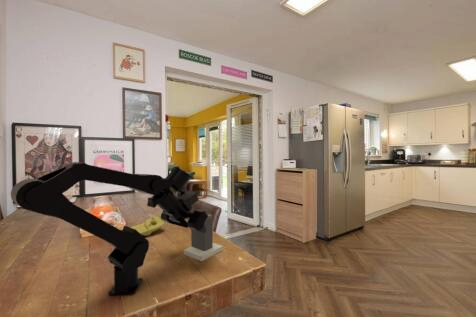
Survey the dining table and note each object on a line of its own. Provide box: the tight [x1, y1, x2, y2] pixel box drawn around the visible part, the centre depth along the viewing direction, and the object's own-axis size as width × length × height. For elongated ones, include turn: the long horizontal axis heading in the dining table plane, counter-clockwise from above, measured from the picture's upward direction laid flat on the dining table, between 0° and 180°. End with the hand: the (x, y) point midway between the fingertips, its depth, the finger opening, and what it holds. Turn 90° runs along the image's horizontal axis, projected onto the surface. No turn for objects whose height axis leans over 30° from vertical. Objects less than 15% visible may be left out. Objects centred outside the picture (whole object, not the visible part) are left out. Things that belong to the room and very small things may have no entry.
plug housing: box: [190, 213, 214, 251], centre depth 80 cm, size 4×7×12 cm, turn 53°
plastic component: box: [115, 213, 166, 236], centre depth 98 cm, size 20×7×10 cm
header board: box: [183, 242, 224, 262], centre depth 79 cm, size 11×9×4 cm
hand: (196, 229), depth 77 cm, fingers open, 9 cm apart
